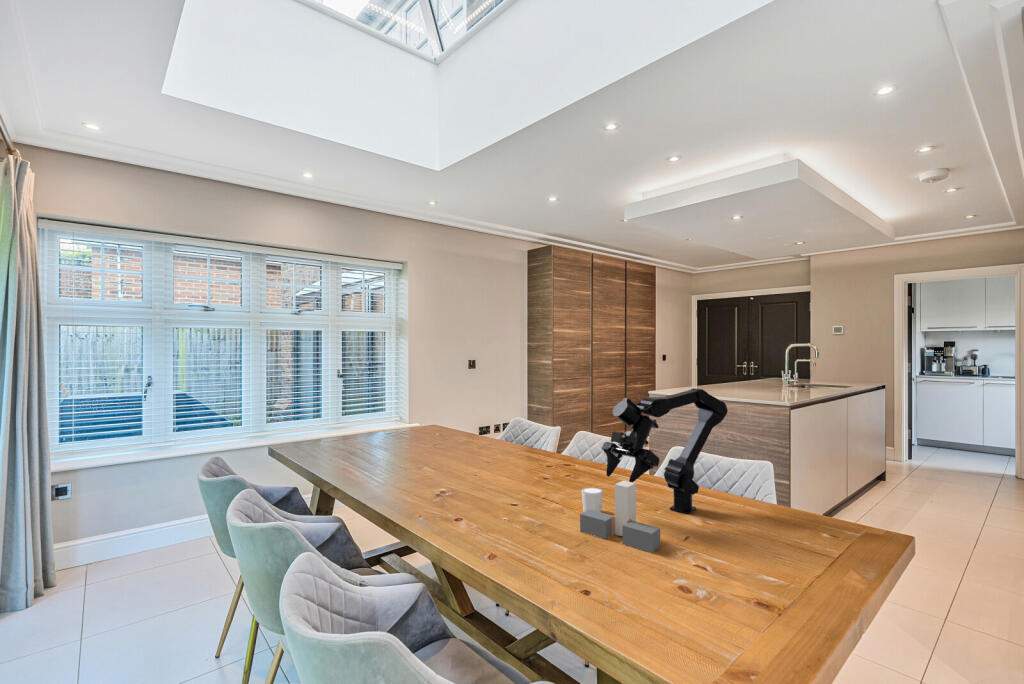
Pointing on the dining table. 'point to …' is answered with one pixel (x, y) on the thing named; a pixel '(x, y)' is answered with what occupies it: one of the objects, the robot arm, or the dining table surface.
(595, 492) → the shot glass
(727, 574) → the dining table surface
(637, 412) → the robot arm
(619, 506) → the peg block
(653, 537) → the grey blocks
